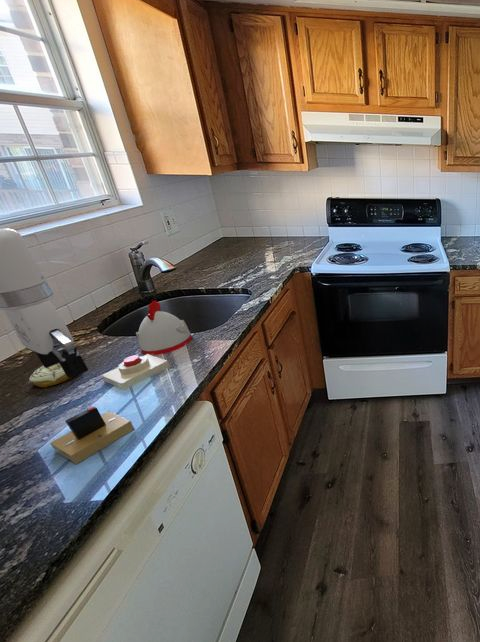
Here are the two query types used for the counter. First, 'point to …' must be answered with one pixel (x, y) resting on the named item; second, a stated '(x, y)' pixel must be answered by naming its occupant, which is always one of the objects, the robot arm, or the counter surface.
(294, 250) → the counter surface
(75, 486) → the counter surface
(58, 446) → the plate
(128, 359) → the bell button
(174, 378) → the counter surface
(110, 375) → the block
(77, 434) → the lock knob
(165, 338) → the kitchen timer
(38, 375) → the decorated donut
